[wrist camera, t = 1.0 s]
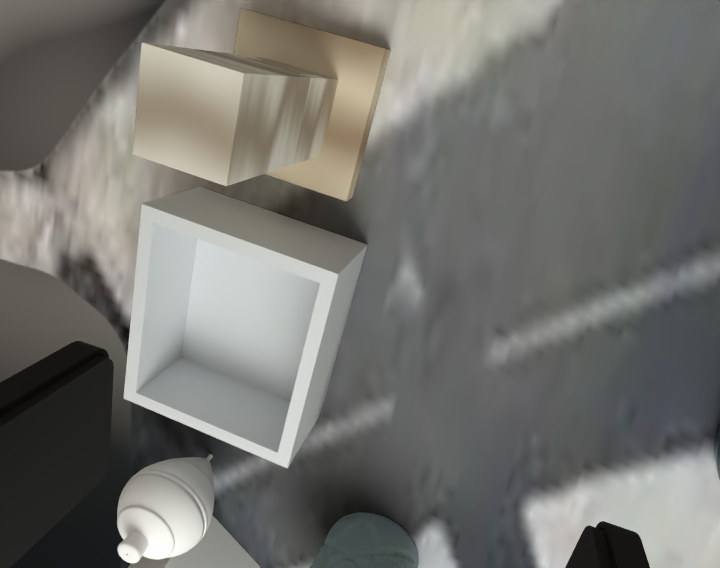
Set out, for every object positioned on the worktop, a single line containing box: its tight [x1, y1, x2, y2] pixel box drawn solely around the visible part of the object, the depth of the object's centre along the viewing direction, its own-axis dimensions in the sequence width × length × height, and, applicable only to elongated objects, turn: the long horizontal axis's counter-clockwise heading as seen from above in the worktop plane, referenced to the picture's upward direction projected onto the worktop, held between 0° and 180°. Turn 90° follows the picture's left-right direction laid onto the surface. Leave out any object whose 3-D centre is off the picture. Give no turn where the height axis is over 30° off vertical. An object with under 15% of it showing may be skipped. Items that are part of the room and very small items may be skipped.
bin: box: [124, 187, 368, 468], centre depth 40 cm, size 16×14×7 cm
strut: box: [133, 43, 338, 186], centre depth 30 cm, size 5×5×13 cm
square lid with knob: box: [234, 8, 390, 201], centre depth 34 cm, size 10×10×6 cm
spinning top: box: [117, 454, 214, 563], centre depth 45 cm, size 8×8×12 cm
